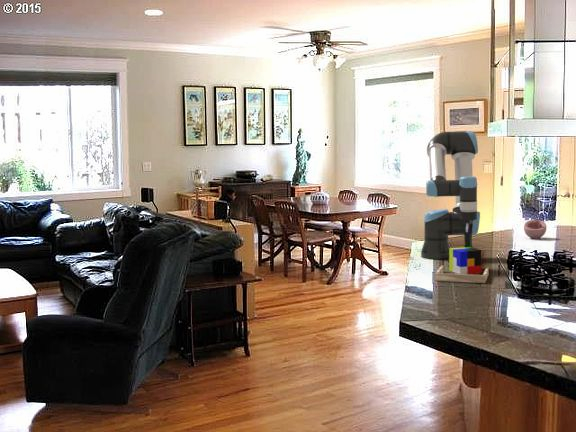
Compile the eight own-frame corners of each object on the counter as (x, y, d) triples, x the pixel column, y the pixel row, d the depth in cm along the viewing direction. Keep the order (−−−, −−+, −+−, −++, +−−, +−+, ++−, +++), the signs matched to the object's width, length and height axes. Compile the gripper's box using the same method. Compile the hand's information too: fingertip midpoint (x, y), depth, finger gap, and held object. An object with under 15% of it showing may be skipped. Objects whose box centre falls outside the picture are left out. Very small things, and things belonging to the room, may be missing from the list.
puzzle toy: (460, 274, 283) (460, 251, 282) (449, 270, 293) (449, 248, 292) (481, 273, 285) (481, 250, 284) (470, 268, 295) (470, 246, 294)
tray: (441, 272, 289) (441, 265, 289) (488, 274, 282) (488, 267, 282) (434, 280, 273) (434, 273, 272) (485, 283, 265) (485, 275, 265)
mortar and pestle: (524, 240, 372) (524, 219, 371) (523, 236, 383) (523, 217, 382) (547, 240, 368) (547, 219, 367) (545, 237, 380) (545, 217, 378)
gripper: (461, 209, 303) (461, 260, 306) (458, 212, 291) (458, 264, 294) (478, 209, 301) (478, 260, 303) (475, 212, 289) (475, 265, 291)
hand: (468, 262), depth 298 cm, fingers closed
